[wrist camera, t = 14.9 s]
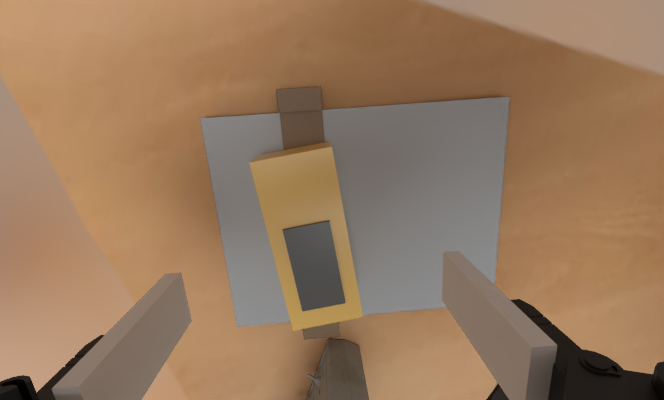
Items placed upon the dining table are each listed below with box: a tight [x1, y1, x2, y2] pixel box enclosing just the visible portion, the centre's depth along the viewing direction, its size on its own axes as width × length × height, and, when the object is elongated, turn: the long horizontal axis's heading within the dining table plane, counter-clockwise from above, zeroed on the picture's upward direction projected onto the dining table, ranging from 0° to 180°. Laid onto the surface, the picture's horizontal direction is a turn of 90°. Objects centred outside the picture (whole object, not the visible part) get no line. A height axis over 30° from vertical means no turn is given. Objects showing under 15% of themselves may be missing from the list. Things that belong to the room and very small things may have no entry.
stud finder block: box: [249, 142, 363, 331], centre depth 22 cm, size 5×12×4 cm, turn 10°
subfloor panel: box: [200, 87, 510, 340], centre depth 24 cm, size 22×20×2 cm
